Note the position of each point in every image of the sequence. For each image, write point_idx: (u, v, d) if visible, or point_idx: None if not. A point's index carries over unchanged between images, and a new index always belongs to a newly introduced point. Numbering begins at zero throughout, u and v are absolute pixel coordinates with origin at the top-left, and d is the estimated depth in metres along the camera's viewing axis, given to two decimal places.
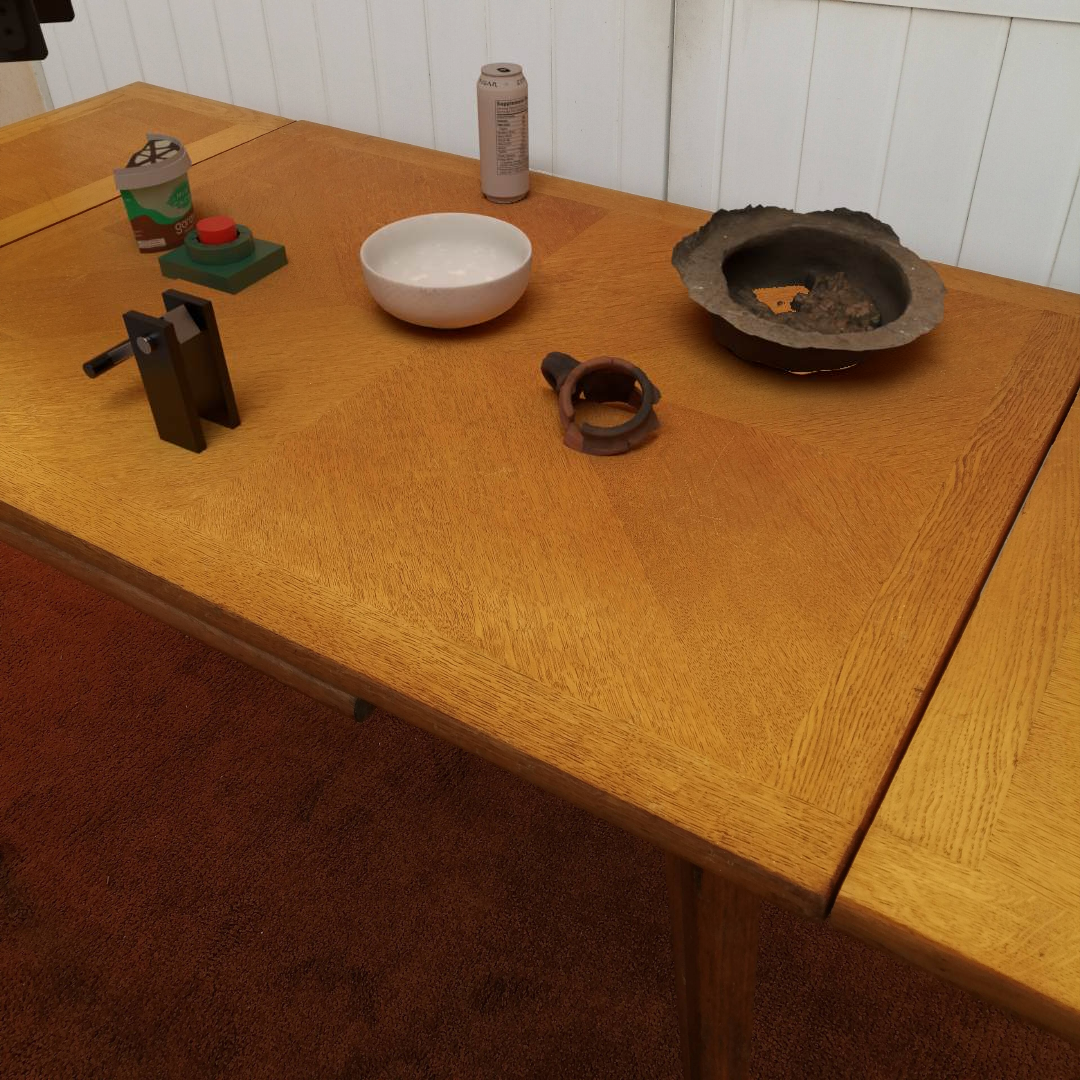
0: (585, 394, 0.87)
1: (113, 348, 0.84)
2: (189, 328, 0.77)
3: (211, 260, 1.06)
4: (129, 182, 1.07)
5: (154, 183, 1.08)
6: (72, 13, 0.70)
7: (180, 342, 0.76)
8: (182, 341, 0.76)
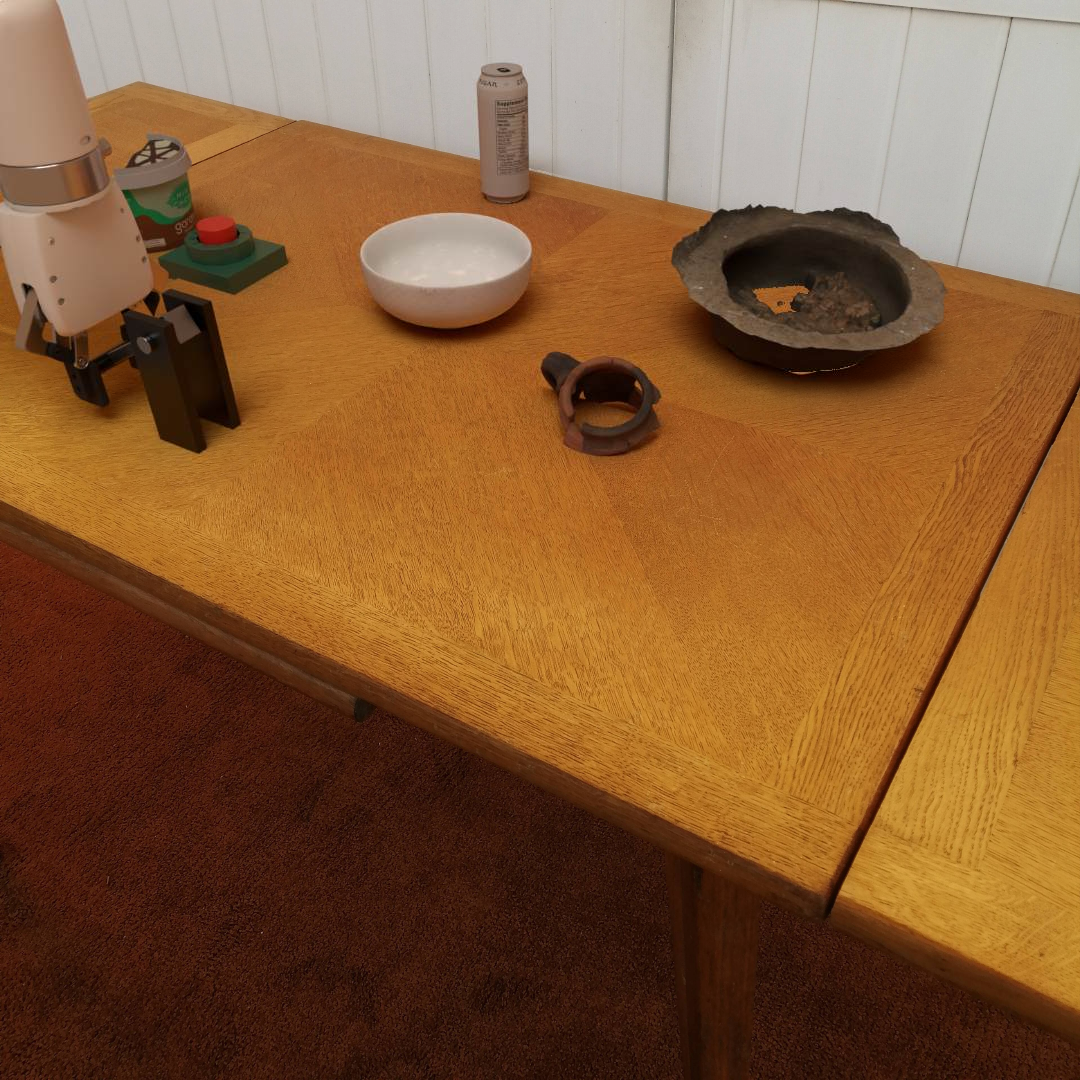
0: (585, 394, 0.87)
1: (113, 348, 0.84)
2: (189, 328, 0.77)
3: (211, 260, 1.06)
4: (129, 182, 1.07)
5: (154, 183, 1.08)
6: None
7: (180, 342, 0.76)
8: (182, 341, 0.76)
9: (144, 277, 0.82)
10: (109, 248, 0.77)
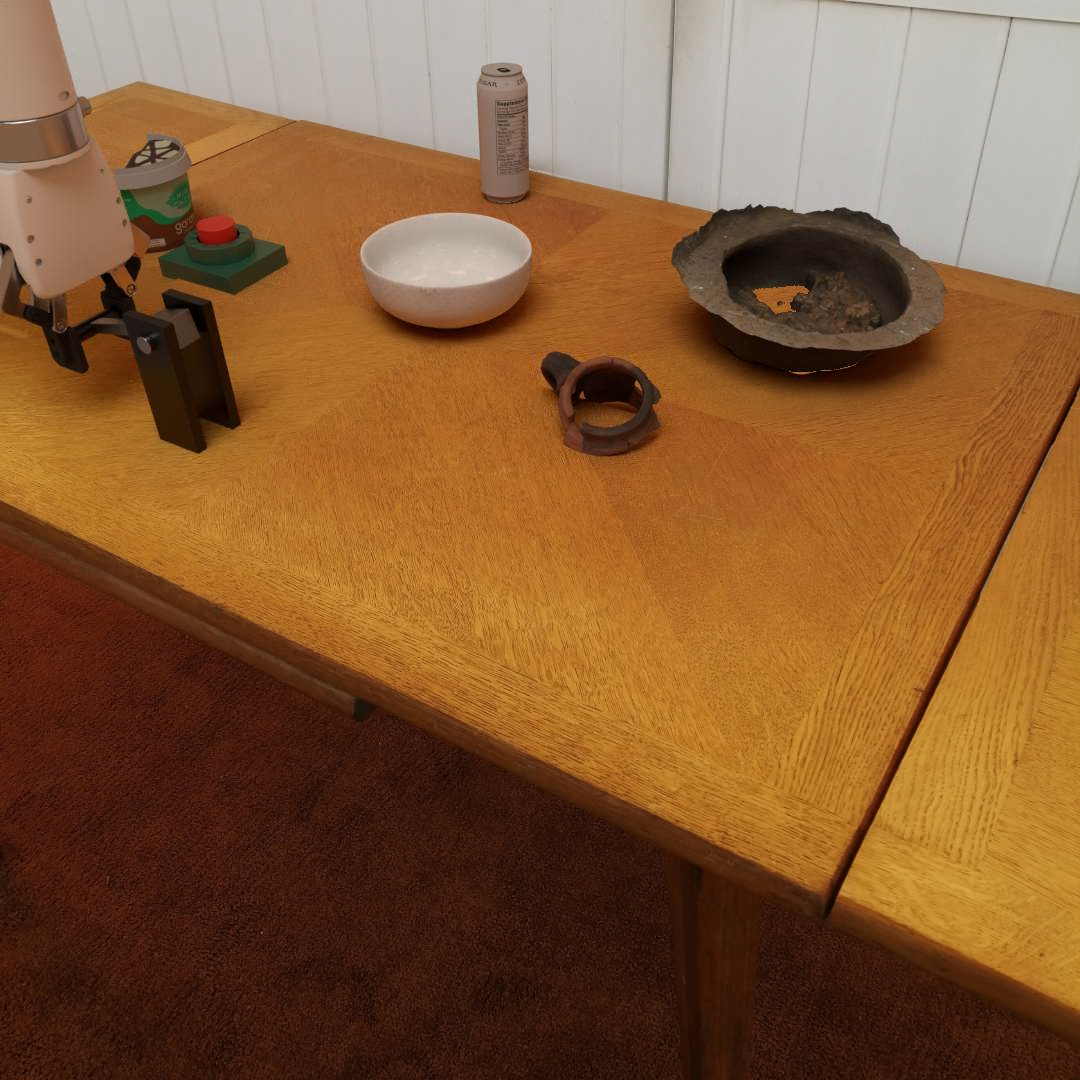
0: (585, 394, 0.87)
1: (96, 317, 0.82)
2: (190, 333, 0.77)
3: (211, 260, 1.06)
4: (129, 182, 1.07)
5: (154, 183, 1.08)
6: None
7: (180, 347, 0.77)
8: (182, 346, 0.77)
9: (125, 241, 0.80)
10: (89, 209, 0.76)
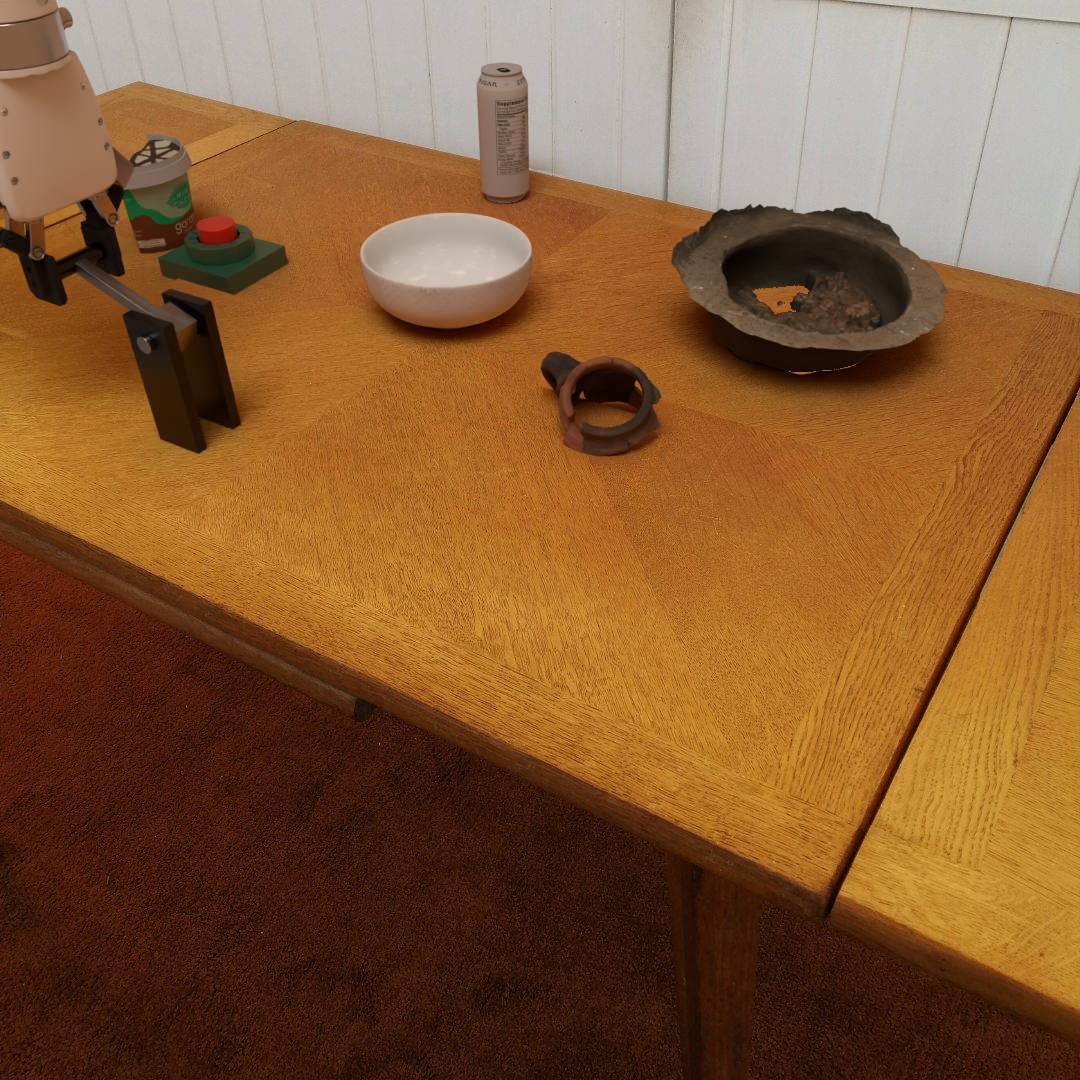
0: (585, 394, 0.87)
1: (82, 256, 0.79)
2: (189, 341, 0.78)
3: (211, 260, 1.06)
4: (129, 182, 1.07)
5: (154, 183, 1.08)
6: (120, 271, 0.81)
7: None
8: None
9: (107, 165, 0.76)
10: (68, 127, 0.72)
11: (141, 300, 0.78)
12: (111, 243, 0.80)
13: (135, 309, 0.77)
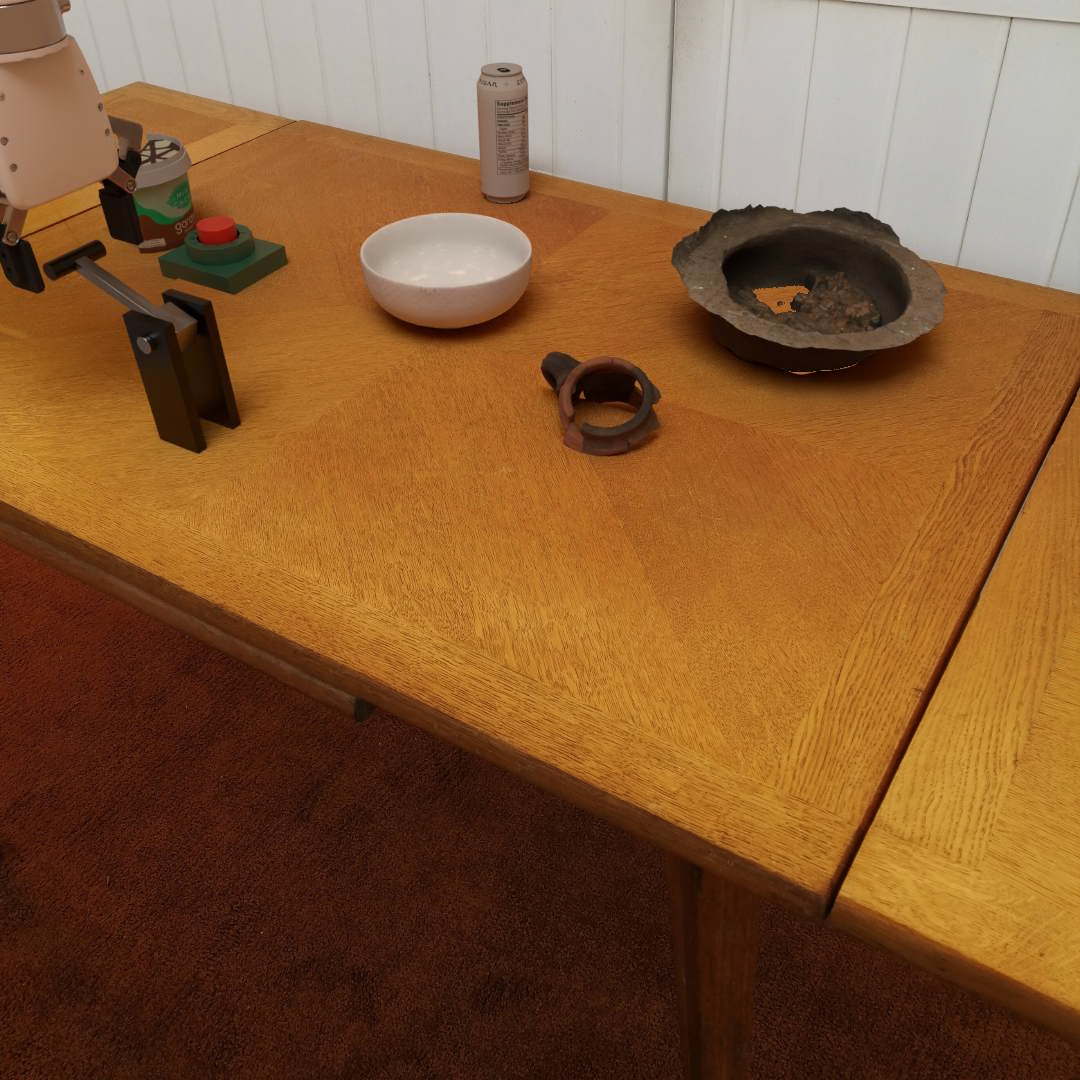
0: (585, 394, 0.87)
1: (82, 254, 0.78)
2: (189, 341, 0.78)
3: (211, 260, 1.06)
4: None
5: (154, 183, 1.08)
6: (138, 239, 0.81)
7: None
8: None
9: (108, 152, 0.75)
10: (67, 113, 0.71)
11: (141, 299, 0.78)
12: (129, 210, 0.79)
13: (135, 308, 0.77)
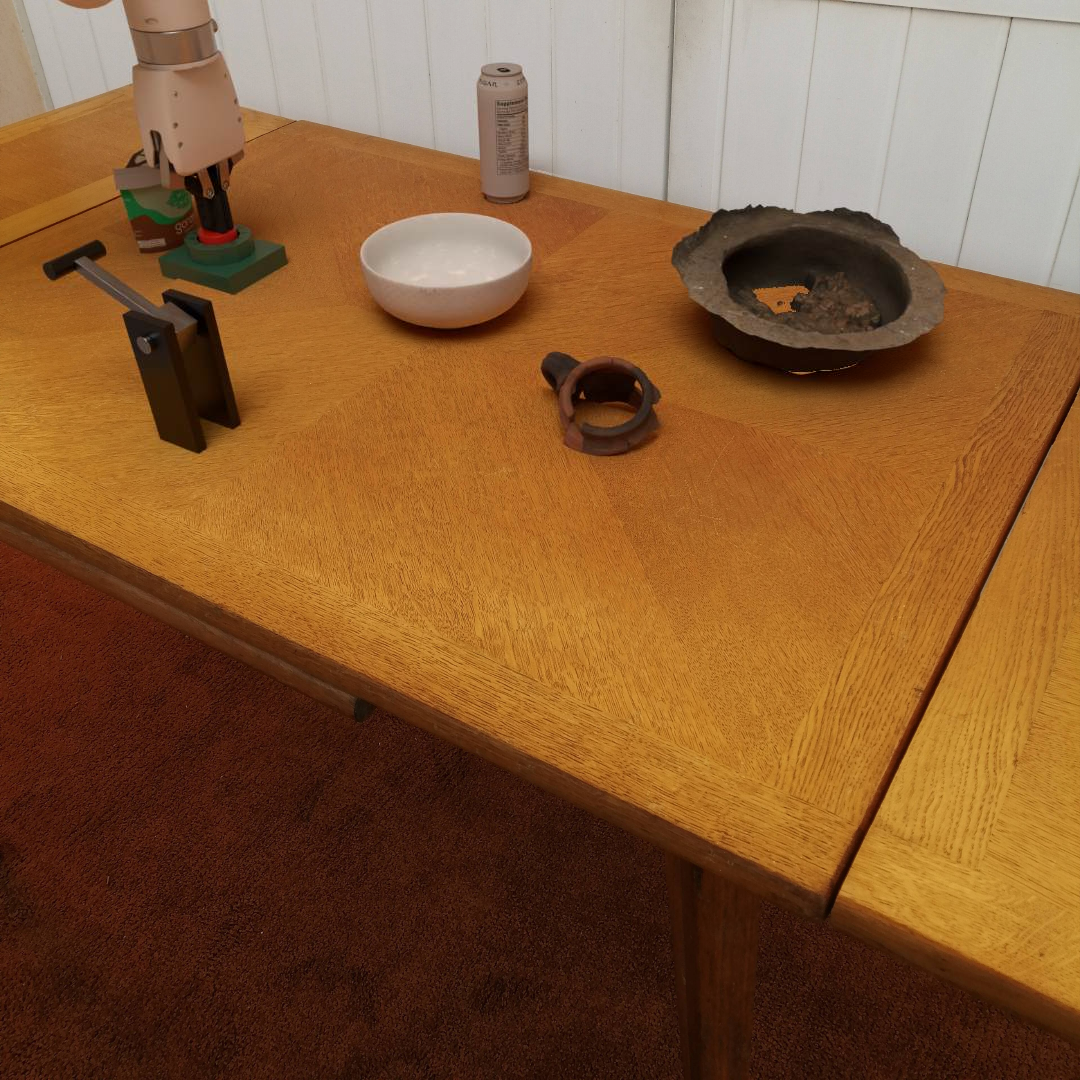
0: (585, 394, 0.87)
1: (82, 254, 0.78)
2: (189, 341, 0.78)
3: (211, 260, 1.06)
4: (129, 182, 1.07)
5: (154, 183, 1.08)
6: (230, 226, 1.06)
7: None
8: None
9: (239, 134, 1.03)
10: (215, 105, 0.98)
11: (141, 299, 0.78)
12: (224, 203, 1.05)
13: (135, 308, 0.77)
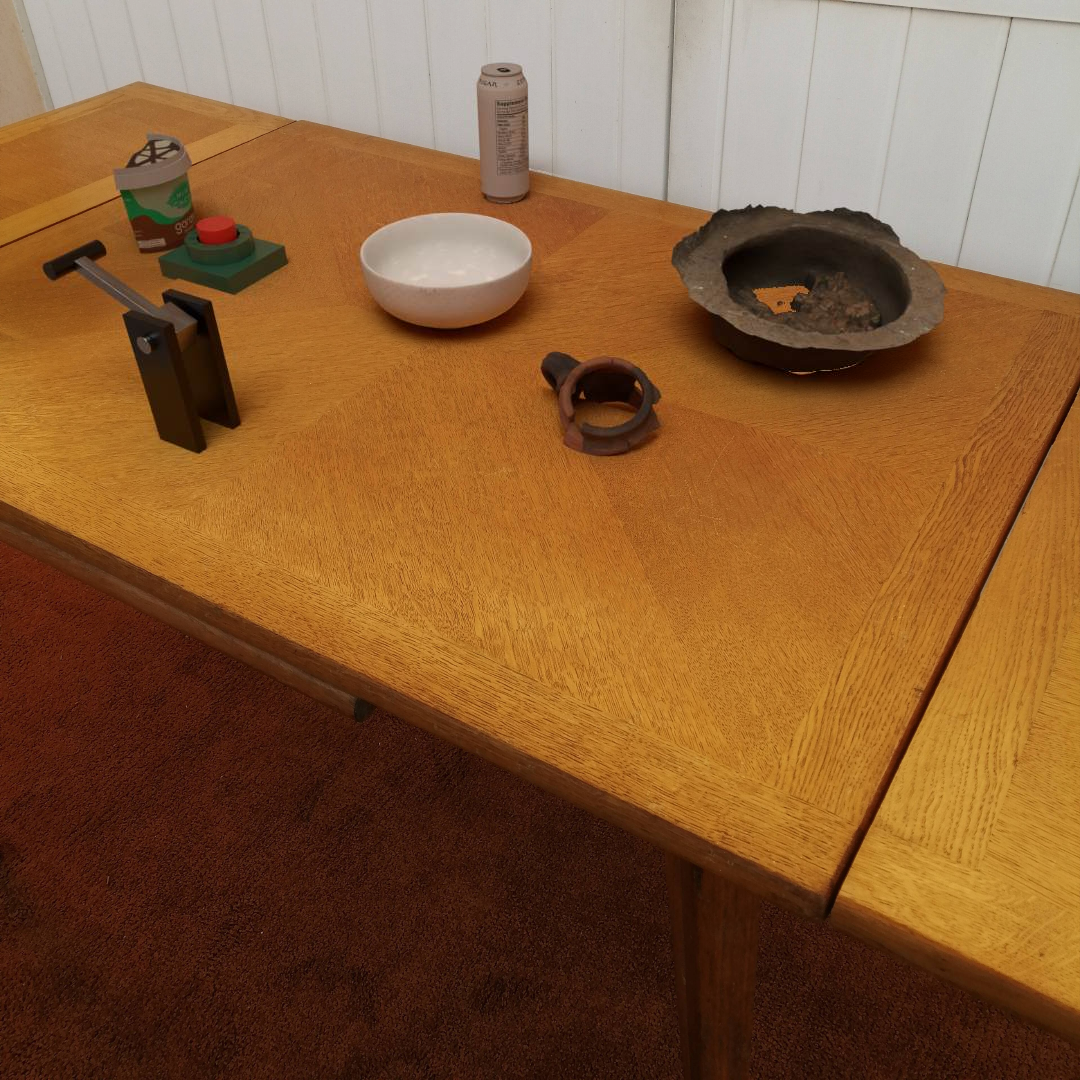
0: (585, 394, 0.87)
1: (82, 254, 0.78)
2: (189, 341, 0.78)
3: (211, 260, 1.06)
4: (129, 182, 1.07)
5: (154, 183, 1.08)
6: None
7: None
8: None
9: None
10: None
11: (141, 299, 0.78)
12: None
13: (135, 308, 0.77)
